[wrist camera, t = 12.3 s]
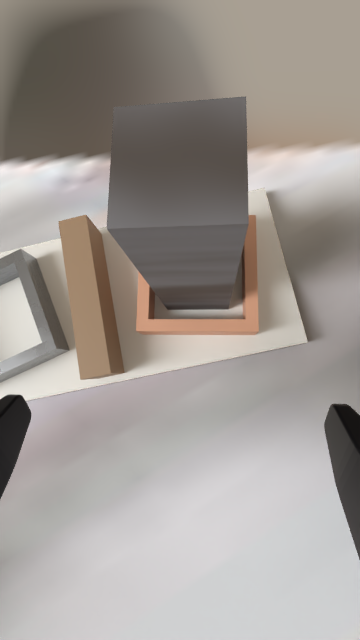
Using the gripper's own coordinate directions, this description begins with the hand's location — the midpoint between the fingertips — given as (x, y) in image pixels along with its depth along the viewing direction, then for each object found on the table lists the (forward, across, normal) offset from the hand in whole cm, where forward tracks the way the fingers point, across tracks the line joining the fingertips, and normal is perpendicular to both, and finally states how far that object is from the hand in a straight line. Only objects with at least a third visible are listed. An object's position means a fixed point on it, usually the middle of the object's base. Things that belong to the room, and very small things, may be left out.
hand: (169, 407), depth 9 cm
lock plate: (+14, +7, +5) cm, 17 cm away
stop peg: (+14, 0, +3) cm, 15 cm away
